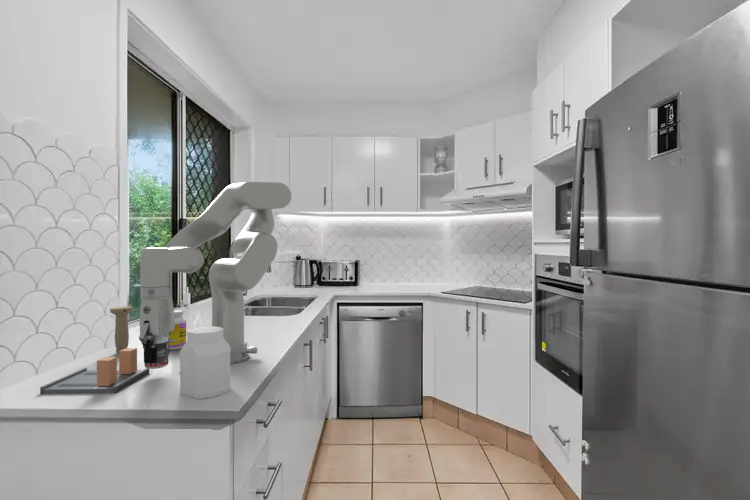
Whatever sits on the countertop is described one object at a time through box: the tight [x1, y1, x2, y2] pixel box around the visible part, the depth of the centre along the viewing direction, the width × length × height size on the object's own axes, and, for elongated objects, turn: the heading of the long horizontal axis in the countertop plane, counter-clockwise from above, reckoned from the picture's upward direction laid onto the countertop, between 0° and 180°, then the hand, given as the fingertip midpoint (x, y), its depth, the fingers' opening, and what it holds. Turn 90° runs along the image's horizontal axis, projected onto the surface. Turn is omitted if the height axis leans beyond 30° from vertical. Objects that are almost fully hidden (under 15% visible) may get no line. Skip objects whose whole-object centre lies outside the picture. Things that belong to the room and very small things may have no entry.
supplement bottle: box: [168, 309, 187, 351], centre depth 141 cm, size 7×7×13 cm
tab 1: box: [96, 356, 118, 386], centre depth 101 cm, size 3×3×6 cm
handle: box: [109, 305, 134, 354], centre depth 135 cm, size 5×6×15 cm
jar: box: [179, 326, 232, 400], centre depth 100 cm, size 12×10×15 cm
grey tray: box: [39, 367, 150, 395], centre depth 106 cm, size 18×15×2 cm
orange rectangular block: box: [118, 347, 138, 374], centre depth 110 cm, size 3×3×6 cm
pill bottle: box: [144, 334, 169, 370], centre depth 110 cm, size 6×6×10 cm
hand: (156, 358), depth 110 cm, fingers closed on pill bottle, 5 cm apart
